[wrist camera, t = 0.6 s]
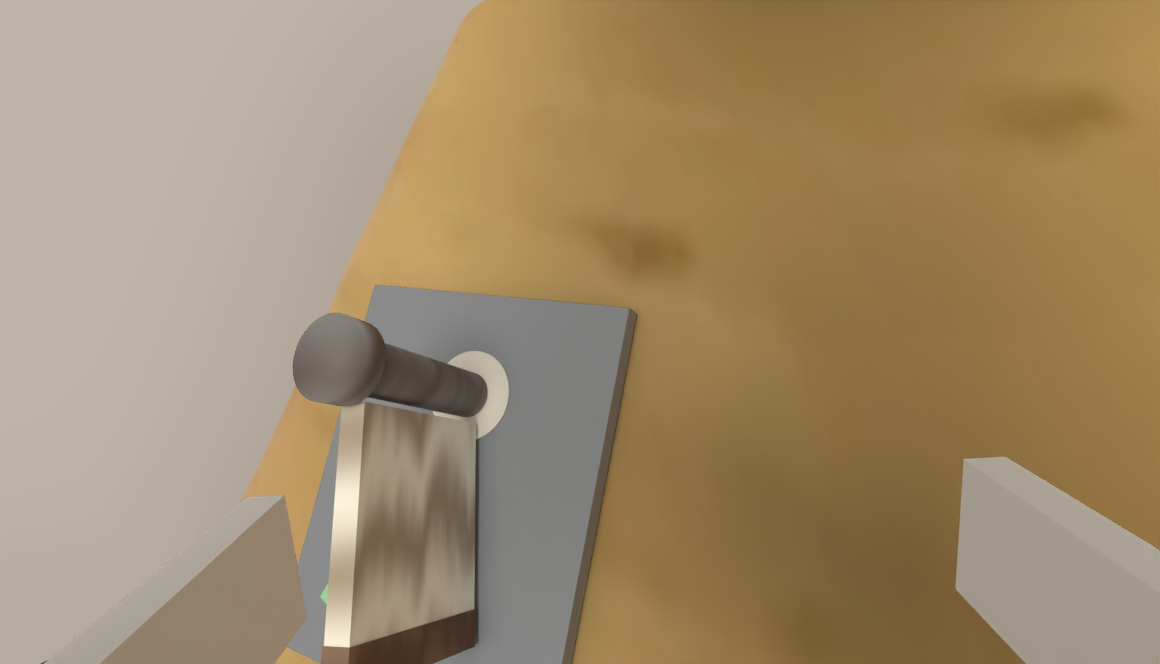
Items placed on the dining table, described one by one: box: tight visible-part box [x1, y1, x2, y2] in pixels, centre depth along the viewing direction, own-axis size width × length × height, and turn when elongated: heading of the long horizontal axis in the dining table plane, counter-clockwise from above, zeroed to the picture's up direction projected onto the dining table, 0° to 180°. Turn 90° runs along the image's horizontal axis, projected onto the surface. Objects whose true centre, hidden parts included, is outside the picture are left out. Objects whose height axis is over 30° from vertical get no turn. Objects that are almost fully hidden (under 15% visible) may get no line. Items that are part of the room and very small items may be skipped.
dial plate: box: [287, 285, 637, 664], centre depth 39 cm, size 26×21×2 cm
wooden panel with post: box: [293, 313, 488, 664], centre depth 32 cm, size 17×4×12 cm, turn 3°
